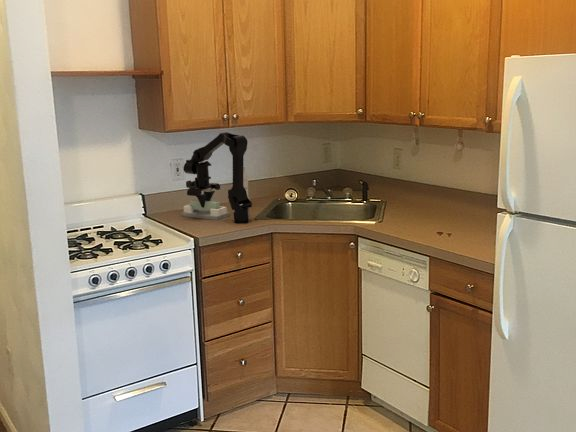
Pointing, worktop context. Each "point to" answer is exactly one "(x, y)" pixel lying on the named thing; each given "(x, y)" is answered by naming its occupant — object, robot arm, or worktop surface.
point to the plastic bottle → (245, 182)
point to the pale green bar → (207, 205)
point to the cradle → (205, 213)
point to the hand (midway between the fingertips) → (205, 206)
